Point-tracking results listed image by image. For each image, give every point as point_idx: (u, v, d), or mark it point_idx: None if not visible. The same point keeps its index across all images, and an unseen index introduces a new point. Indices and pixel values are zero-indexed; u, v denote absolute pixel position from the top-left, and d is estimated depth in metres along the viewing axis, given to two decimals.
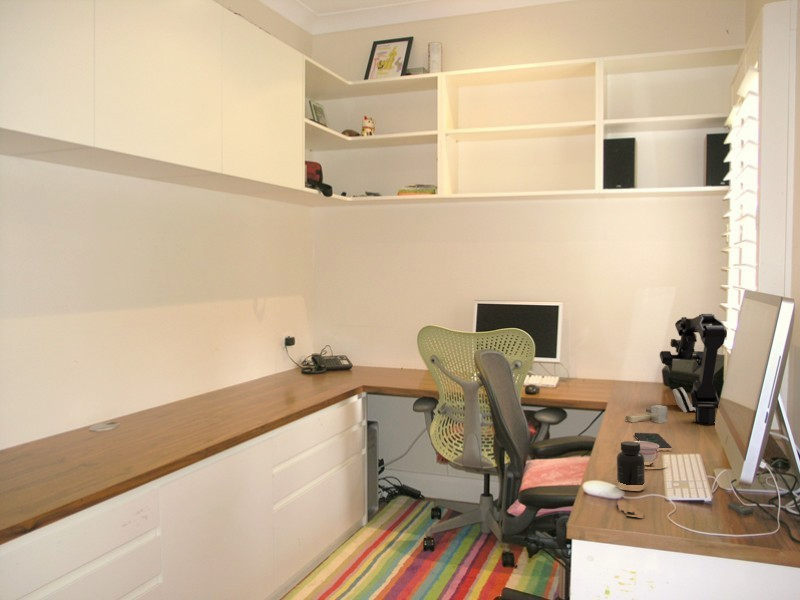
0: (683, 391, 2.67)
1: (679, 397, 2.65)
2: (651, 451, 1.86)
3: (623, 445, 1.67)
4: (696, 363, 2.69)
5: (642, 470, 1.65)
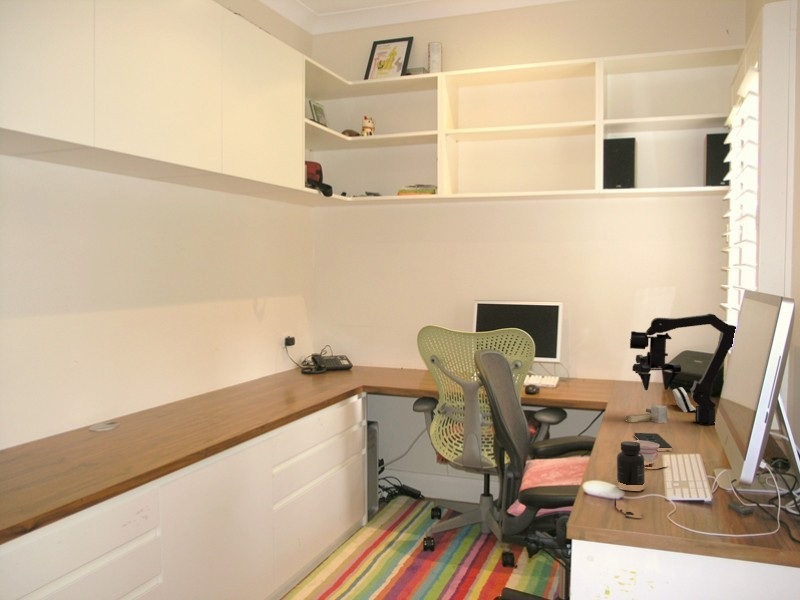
0: (683, 391, 2.67)
1: (679, 397, 2.65)
2: (651, 450, 1.87)
3: (623, 445, 1.67)
4: (669, 374, 2.49)
5: (642, 470, 1.65)
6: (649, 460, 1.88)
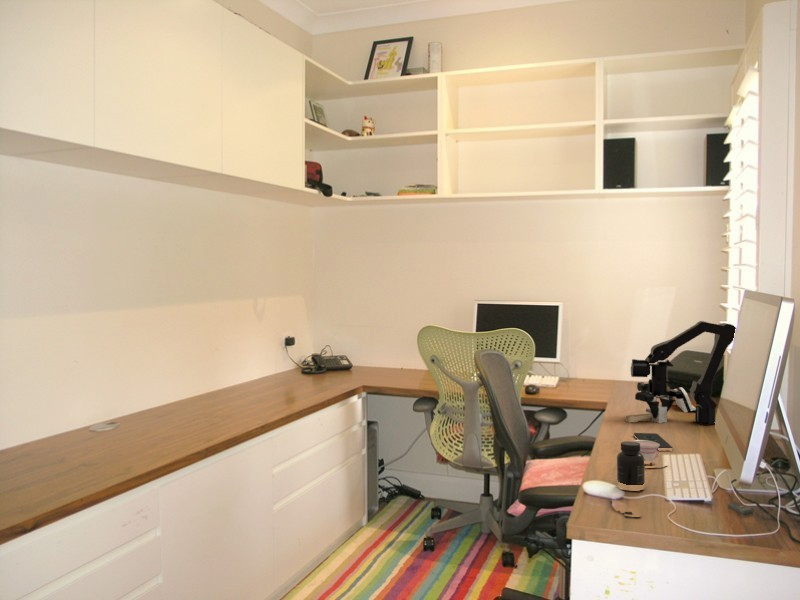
0: (683, 391, 2.67)
1: None
2: (651, 450, 1.88)
3: (623, 445, 1.67)
4: (666, 401, 2.47)
5: (642, 470, 1.65)
6: (649, 459, 1.88)
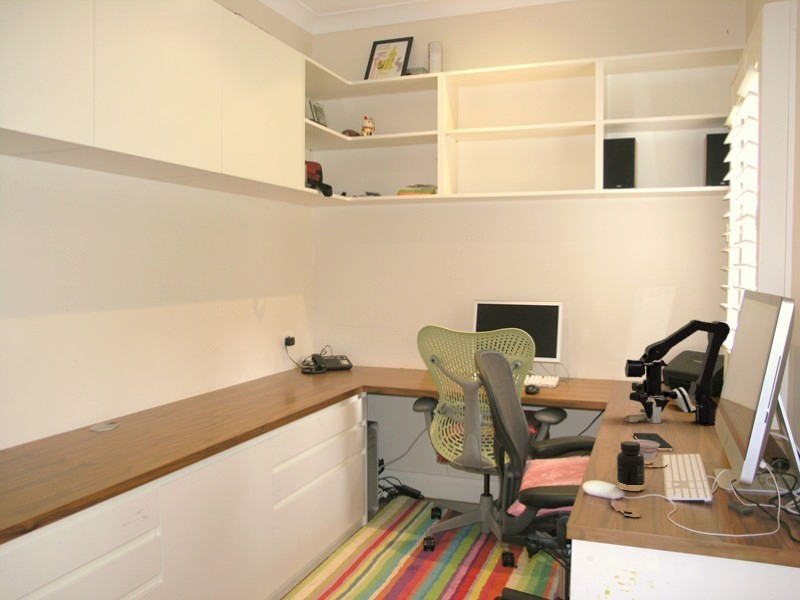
0: (684, 391, 2.67)
1: (680, 397, 2.65)
2: (652, 450, 1.88)
3: (623, 445, 1.67)
4: (660, 402, 2.46)
5: (642, 470, 1.65)
6: (649, 459, 1.89)
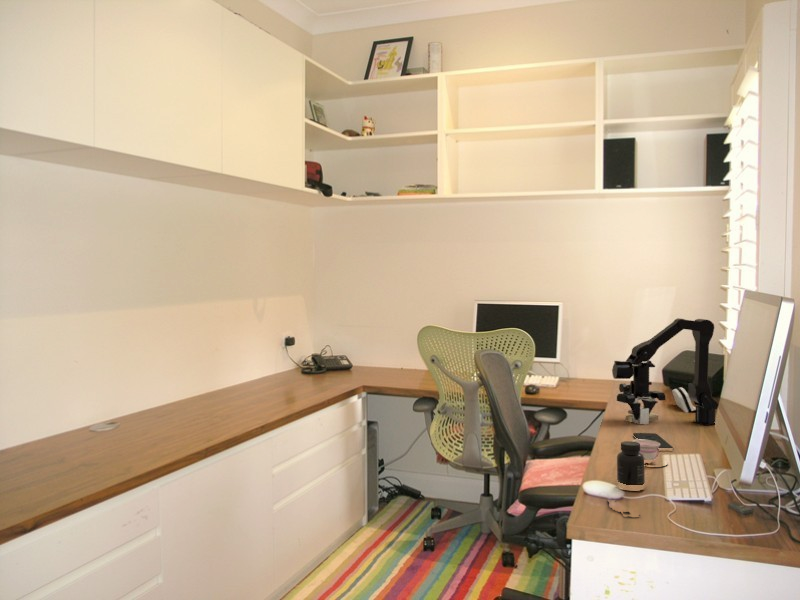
0: (684, 391, 2.67)
1: (680, 397, 2.65)
2: (652, 449, 1.88)
3: (623, 445, 1.67)
4: (648, 403, 2.44)
5: (642, 470, 1.65)
6: (650, 459, 1.89)
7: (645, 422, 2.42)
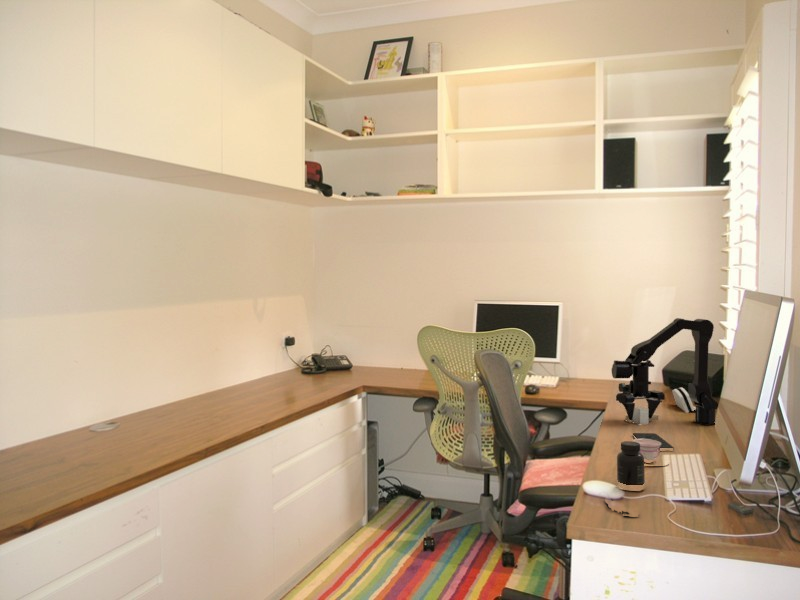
0: (684, 391, 2.67)
1: (681, 397, 2.65)
2: (653, 448, 1.89)
3: (623, 445, 1.67)
4: (652, 402, 2.45)
5: (642, 470, 1.65)
6: (651, 458, 1.90)
7: (645, 422, 2.42)
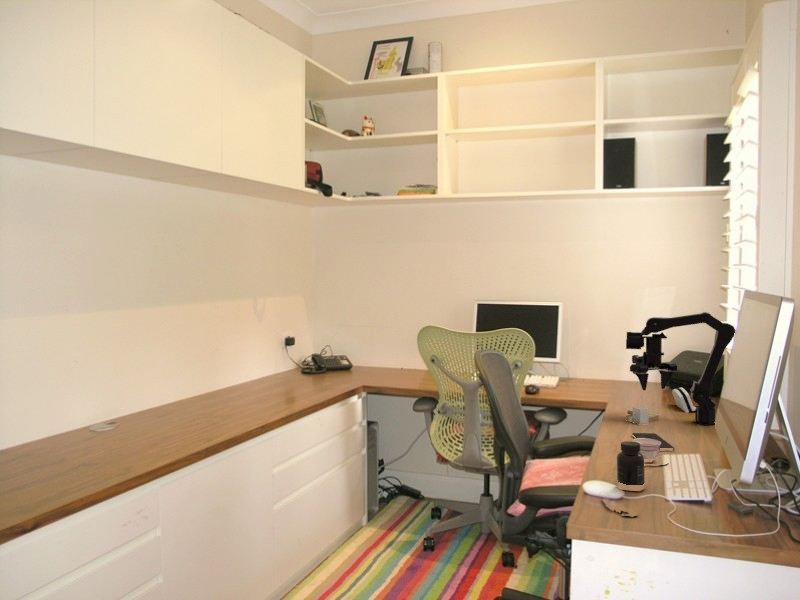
0: (684, 391, 2.67)
1: (681, 397, 2.65)
2: (653, 448, 1.90)
3: (623, 445, 1.67)
4: (665, 373, 2.50)
5: (642, 470, 1.65)
6: (651, 457, 1.91)
7: (645, 422, 2.42)
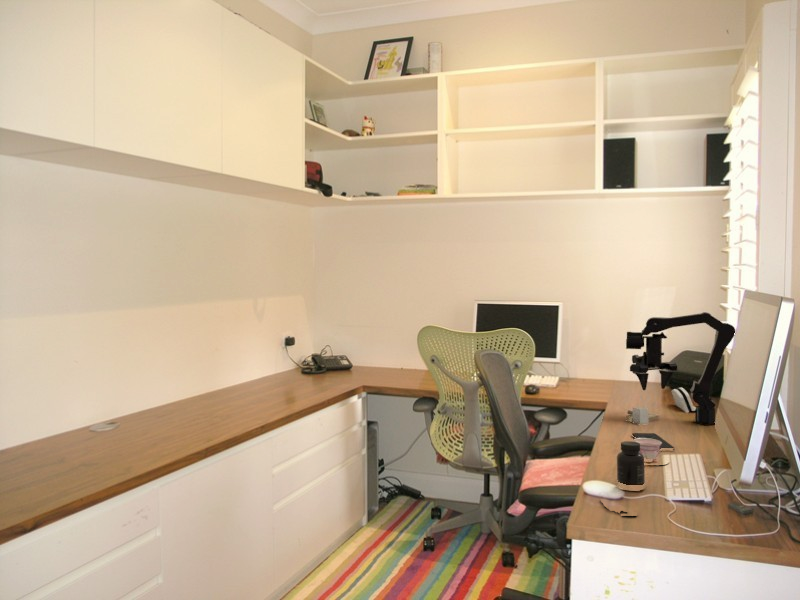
0: (684, 391, 2.67)
1: (681, 397, 2.65)
2: (654, 448, 1.90)
3: (623, 445, 1.67)
4: (665, 373, 2.50)
5: (642, 470, 1.65)
6: (651, 457, 1.91)
7: (645, 422, 2.42)
